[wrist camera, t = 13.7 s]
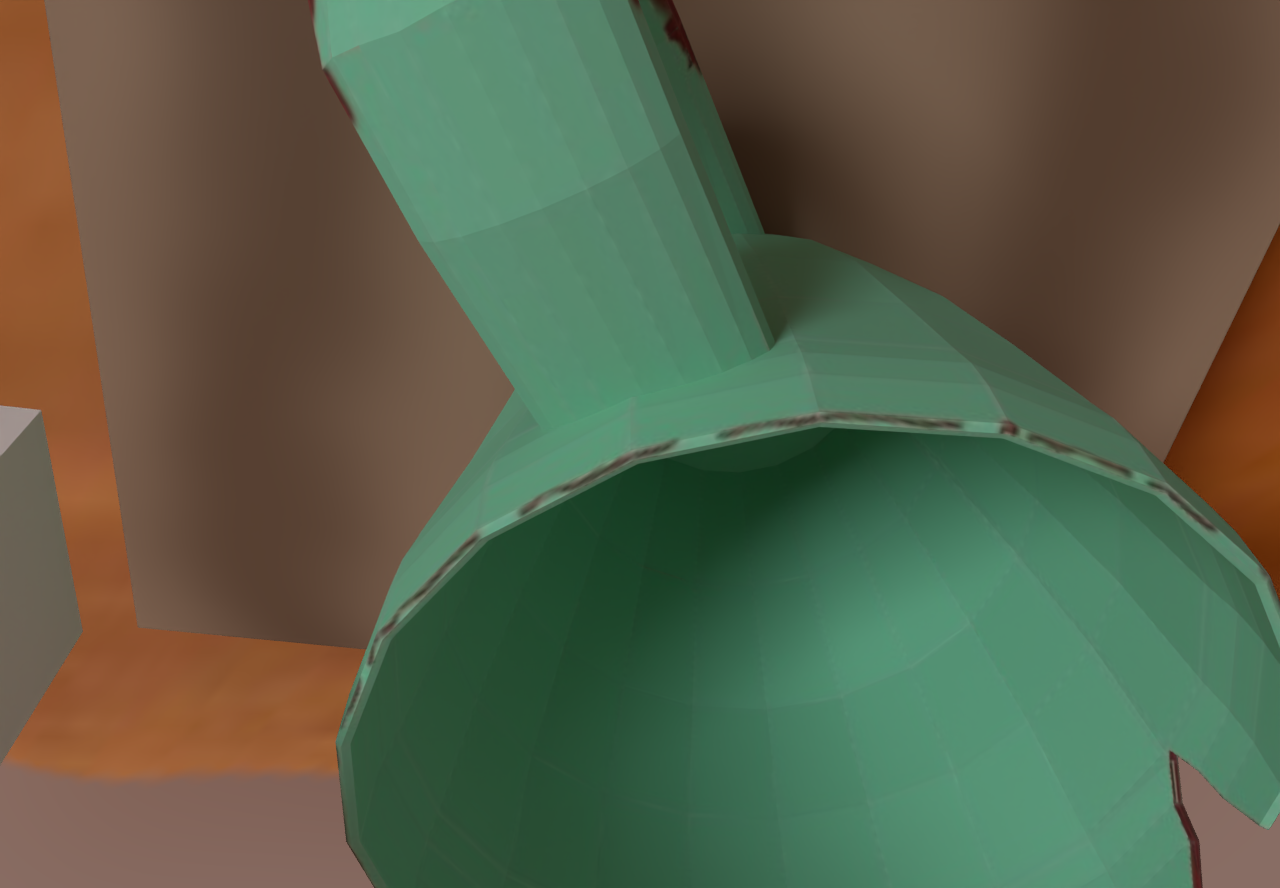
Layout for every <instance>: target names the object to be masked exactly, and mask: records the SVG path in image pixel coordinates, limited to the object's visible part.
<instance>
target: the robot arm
mask: <svg viewBox="0 0 1280 888" xmlns="http://www.w3.org/2000/svg"><path fill="white" fill-rule="evenodd" d="M82 632H83V630H82V625H81V620H80V614H79V609H78V604H77V598H76V593H75V588H74V582H73V577H72V572H71V566H70V561H69V556H68V550H67V545H66V540H65V535H64V529H63V524H62V519H61V513H60V508H59V503H58V497H57V492H56V487H55V481H54V476H53V471H52V465H51V460H50V455H49V449H48V444H47V439H46V433H45V428H44V423H43V417H42V412H41V410H35V409H26V408H17V407H8V406H0V764H1V763H2V761H3V760H4V758H5V756H6V755H7V753H8V752H9V750H10V748H11V747H12V745H13V743H14V742H15V740H16V739H17V737H18V735H19V734H20V732H21V731H22V729H23V727H24V726H25V724H26V722H27V721H28V719H29V718H30V716H31V714H32V713H33V711H34V710H35V708H36V706H37V705H38V703H39V701H40V700H41V698H42V697H43V695H44V693H45V692H46V690H47V688H48V687H49V685H50V684H51V682H52V680H53V679H54V677H55V676H56V674H57V672H58V671H59V669H60V667H61V666H62V664H63V663H64V661H65V659H66V658H67V656H68V655H69V653H70V651H71V650H72V648H73V646H74V645H75V643H76V642H77V640H78V638H79V637H80V635H81V633H82Z"/></svg>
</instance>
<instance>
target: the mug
mask: <svg viewBox="0 0 1280 888" xmlns="http://www.w3.org/2000/svg"><path fill="white" fill-rule="evenodd" d="M308 4H309V9H310V14H311V19H312V24H313V28H314V33H315V38H316V43H317V48H318V53H319V58H320V63H321V67H322V70H323V72H324V74H325V75H326V77H327V79H328V81H329V83H330V84H331V86H332V88H333V90H334V92H335V93H336V95H337V97H338V99H339V100H340V102H341V104H342V106H343V108H344V109H345V111H346V113H347V115H348V117H349V118H350V120H351V122H352V124H353V125H354V127H355V129H356V131H357V133H358V134H359V136H360V138H361V140H362V142H363V143H364V145H365V147H366V149H367V150H368V152H369V154H370V156H371V158H372V159H373V161H374V163H375V165H376V167H377V168H378V170H379V172H380V174H381V175H382V177H383V179H384V181H385V183H386V184H387V186H388V188H389V190H390V192H391V193H392V195H393V197H394V199H395V200H396V202H397V204H398V206H399V208H400V209H401V211H402V213H403V215H404V217H405V218H406V220H407V222H408V224H409V225H410V227H411V229H412V231H413V233H414V234H415V236H416V238H417V240H418V241H419V243H420V245H421V246H422V248H423V249H424V251H425V252H426V254H427V255H428V257H429V258H430V260H431V261H432V263H433V264H434V266H435V267H436V269H437V271H438V272H439V274H440V275H441V277H442V278H443V280H444V281H445V283H446V284H447V286H448V287H449V289H450V290H451V292H452V293H453V295H454V297H455V298H456V300H457V301H458V303H459V304H460V306H461V307H462V309H463V310H464V312H465V313H466V315H467V316H468V318H469V320H470V321H471V323H472V324H473V326H474V327H475V329H476V330H477V332H478V333H479V335H480V336H481V338H482V339H483V341H484V342H485V344H486V346H487V347H488V349H489V350H490V352H491V353H492V355H493V356H494V358H495V359H496V361H497V362H498V364H499V365H500V367H501V368H502V370H503V372H504V373H505V375H506V376H507V378H508V379H509V381H510V382H511V384H512V385H513V387H514V388H515V390H514V392H513V393H512V395H511V397H510V398H509V400H508V401H507V403H506V405H505V406H504V408H503V410H502V411H501V413H500V414H499V416H498V418H497V419H496V421H495V423H494V424H493V426H492V427H491V429H490V431H489V432H488V434H487V436H486V437H485V439H484V440H483V442H482V444H481V445H480V447H479V448H478V450H477V452H476V453H475V455H474V457H473V458H472V460H471V461H470V463H469V464H468V466H467V467H466V468H465V470H464V471H463V473H462V474H461V476H460V477H459V478H458V480H457V481H456V483H455V484H454V486H453V487H452V488H451V490H450V491H449V493H448V494H447V496H446V497H445V498H444V500H443V501H442V503H441V504H440V505H439V507H438V508H437V510H436V511H435V513H434V514H433V515H432V517H431V518H430V520H429V521H428V523H427V524H426V525H425V527H424V528H423V530H422V531H421V533H420V534H419V536H418V537H417V539H416V540H415V542H414V543H413V545H412V546H411V548H410V549H409V550H408V552H407V553H406V555H405V556H404V558H403V559H402V561H401V564H400V566H399V568H398V570H397V573H396V575H395V577H394V579H393V582H392V584H391V586H390V588H389V591H388V593H387V596H386V599H385V601H384V604H383V607H382V609H381V612H380V615H379V617H378V620H377V623H376V625H375V628H374V631H373V633H372V636H371V639H370V641H369V644H368V647H367V649H366V652H365V655H364V657H363V660H362V663H361V665H360V668H359V670H358V673H357V676H356V678H355V681H354V684H353V686H352V689H351V692H350V694H349V698H348V701H347V704H346V708H345V711H344V715H343V718H342V722H341V725H340V728H339V732H338V735H337V739H336V750H337V759H338V768H339V778H340V787H341V796H342V805H343V815H344V824H345V834H346V842H347V844H348V845H349V847H350V848H351V850H352V852H353V853H354V855H355V857H356V858H357V860H358V862H359V863H360V865H361V867H362V868H363V870H364V871H365V873H366V875H367V876H368V878H369V879H370V881H371V883H372V885H373V886H374V888H1202V874H1201V860H1200V845H1199V839H1198V837H1197V835H1196V833H1195V830H1194V828H1193V826H1192V824H1191V821H1190V819H1189V817H1188V815H1187V812H1186V810H1185V808H1184V806H1183V803H1182V794H1181V784H1180V775H1179V766H1178V757H1180V758H1181V759H1182V760H1184V761H1185V762H1187V763H1188V764H1189V765H1191V766H1192V767H1193V768H1195V769H1196V770H1198V771H1199V772H1200V774H1201V775H1202V776H1203V777H1204V778H1205V779H1206V780H1207V781H1208V782H1209V783H1210V784H1211V786H1212V787H1213V788H1214V789H1215V790H1216V791H1217V792H1218V793H1219V795H1220V796H1221V797H1222V798H1223V799H1225V800H1226V801H1227V802H1229V803H1230V804H1231V805H1233V806H1234V807H1235V808H1236V809H1238V810H1239V811H1240V812H1242V813H1243V814H1244V815H1246V816H1247V817H1249V818H1250V819H1251V820H1252V821H1254V822H1255V823H1256V824H1258V825H1259V826H1261V827H1263V828H1265V829H1267V830H1269V829H1270V827H1271V826H1272V824H1273V823H1274V821H1275V820H1276V818H1277V816H1278V815H1279V813H1280V602H1279V599H1278V596H1277V594H1276V591H1275V588H1274V586H1273V583H1272V581H1271V578H1270V575H1269V574H1268V573H1267V572H1266V570H1265V569H1264V568H1263V566H1262V565H1261V564H1260V562H1259V561H1258V560H1257V559H1256V557H1255V556H1254V555H1253V553H1252V552H1251V551H1250V549H1249V548H1248V547H1247V545H1246V544H1245V543H1244V542H1243V540H1242V539H1241V538H1240V536H1239V535H1238V534H1237V532H1236V531H1235V530H1234V529H1233V528H1232V527H1231V526H1230V525H1229V524H1228V523H1227V522H1225V521H1224V520H1223V519H1222V518H1221V517H1220V516H1219V515H1218V514H1217V513H1216V512H1215V511H1214V510H1213V509H1212V508H1211V507H1210V506H1209V505H1208V504H1207V503H1206V502H1205V501H1204V500H1203V499H1202V498H1201V497H1200V496H1198V495H1197V494H1196V493H1195V492H1194V491H1193V490H1192V489H1191V488H1190V487H1189V486H1188V485H1186V484H1185V483H1184V482H1183V481H1182V480H1181V479H1180V478H1179V477H1178V476H1177V475H1175V474H1174V473H1173V472H1172V471H1171V470H1170V469H1169V468H1168V467H1167V466H1166V465H1165V464H1163V463H1162V462H1161V461H1160V460H1159V459H1158V458H1157V457H1156V456H1155V455H1154V454H1152V453H1151V452H1150V451H1149V450H1148V449H1147V448H1146V447H1145V446H1144V445H1143V444H1141V443H1140V442H1139V441H1138V440H1137V439H1136V438H1135V437H1134V436H1133V435H1132V434H1131V433H1129V432H1128V431H1127V430H1126V429H1125V428H1124V427H1123V426H1122V425H1121V424H1120V423H1118V422H1117V421H1116V420H1115V419H1114V418H1113V417H1111V416H1110V415H1108V414H1107V413H1105V412H1104V411H1102V410H1101V409H1099V408H1098V407H1097V406H1095V405H1094V404H1092V403H1091V402H1089V401H1088V400H1087V399H1085V398H1084V397H1083V396H1081V395H1080V394H1079V393H1077V392H1076V391H1075V390H1073V389H1072V388H1071V387H1069V386H1068V385H1067V384H1065V383H1064V382H1063V381H1061V380H1060V379H1059V378H1057V377H1056V376H1055V375H1053V374H1052V373H1051V372H1049V371H1048V370H1047V369H1045V368H1044V367H1043V366H1041V365H1040V364H1039V363H1037V362H1036V361H1035V360H1033V359H1032V358H1031V357H1029V356H1028V355H1027V354H1025V353H1024V352H1023V351H1021V350H1020V349H1019V348H1017V347H1016V346H1015V345H1013V344H1012V343H1010V342H1009V341H1007V340H1006V339H1004V338H1003V337H1001V336H1000V335H999V334H997V333H996V332H994V331H993V330H991V329H990V328H988V327H987V326H985V325H984V324H983V323H981V322H980V321H978V320H977V319H975V318H974V317H972V316H971V315H969V314H968V313H967V312H965V311H964V310H962V309H961V308H959V307H958V306H956V305H955V304H953V303H952V302H951V301H949V300H948V299H946V298H945V297H943V296H941V295H939V294H937V293H935V292H933V291H930V290H928V289H926V288H924V287H922V286H919V285H917V284H915V283H913V282H911V281H908V280H906V279H904V278H902V277H900V276H897V275H895V274H893V273H891V272H889V271H886V270H884V269H882V268H880V267H878V266H875V265H873V264H871V263H868V262H866V261H863V260H861V259H858V258H856V257H853V256H851V255H848V254H846V253H843V252H841V251H838V250H836V249H833V248H831V247H828V246H826V245H823V244H821V243H818V242H816V241H813V240H810V239H803V238H796V237H789V236H782V235H775V234H765V233H764V230H763V227H762V225H761V222H760V220H759V217H758V215H757V212H756V210H755V207H754V205H753V202H752V199H751V197H750V194H749V192H748V189H747V187H746V184H745V182H744V179H743V177H742V174H741V171H740V169H739V166H738V164H737V161H736V159H735V156H734V154H733V151H732V149H731V146H730V143H729V141H728V138H727V136H726V133H725V131H724V128H723V126H722V123H721V121H720V118H719V115H718V113H717V110H716V108H715V105H714V103H713V100H712V98H711V95H710V93H709V90H708V87H707V85H706V82H705V80H704V77H703V75H702V72H701V70H700V67H699V65H698V62H697V59H696V57H695V54H694V52H693V49H692V47H691V44H690V42H689V39H688V37H687V34H686V31H685V29H684V26H683V24H682V21H681V19H680V17H679V14H678V12H677V10H676V7H675V5H674V3H673V0H308Z"/></svg>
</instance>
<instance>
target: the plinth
mask: <svg viewBox="0 0 1280 888" xmlns="http://www.w3.org/2000/svg"><path fill="white" fill-rule="evenodd" d="M44 1H45V7H46V14H47V21H48V27H49V34H50V41H51V48H52V54H53V61H54V68H55V74H56V81H57V88H58V95H59V101H60V108H61V115H62V121H63V128H64V135H65V142H66V148H67V155H68V162H69V168H70V175H71V182H72V189H73V195H74V202H75V209H76V215H77V222H78V229H79V236H80V242H81V249H82V256H83V262H84V269H85V276H86V282H87V289H88V296H89V303H90V309H91V316H92V323H93V329H94V336H95V343H96V350H97V356H98V363H99V370H100V376H101V383H102V390H103V397H104V403H105V410H106V417H107V423H108V430H109V437H110V444H111V450H112V457H113V464H114V470H115V477H116V484H117V490H118V497H119V504H120V511H121V517H122V524H123V531H124V537H125V544H126V551H127V558H128V564H129V571H130V578H131V584H132V591H133V598H134V605H135V611H136V618H137V625H138V627H139V628H149V629H160V630H170V631H180V632H191V633H201V634H212V635H222V636H233V637H243V638H253V639H264V640H274V641H285V642H295V643H305V644H316V645H326V646H337V647H347V648H358V649H367V647H368V644H369V641H370V639H371V636H372V633H373V631H374V628H375V625H376V623H377V620H378V617H379V615H380V612H381V609H382V607H383V604H384V601H385V599H386V596H387V593H388V591H389V588H390V586H391V584H392V582H393V579H394V577H395V575H396V573H397V570H398V568H399V566H400V564H401V561H402V559H403V558H404V556H405V555H406V553H407V552H408V550H409V549H410V548H411V546H412V545H413V543H414V542H415V540H416V539H417V537H418V536H419V534H420V533H421V531H422V530H423V528H424V527H425V525H426V524H427V523H428V521H429V520H430V518H431V517H432V515H433V514H434V513H435V511H436V510H437V508H438V507H439V505H440V504H441V503H442V501H443V500H444V498H445V497H446V496H447V494H448V493H449V491H450V490H451V488H452V487H453V486H454V484H455V483H456V481H457V480H458V478H459V477H460V476H461V474H462V473H463V471H464V470H465V468H466V467H467V466H468V464H469V463H470V461H471V460H472V458H473V457H474V455H475V453H476V452H477V450H478V448H479V447H480V445H481V444H482V442H483V440H484V439H485V437H486V436H487V434H488V432H489V431H490V429H491V427H492V426H493V424H494V423H495V421H496V419H497V418H498V416H499V414H500V413H501V411H502V410H503V408H504V406H505V405H506V403H507V401H508V400H509V398H510V397H511V395H512V393H513V392H514V390H515V388H514V387H513V385H512V384H511V382H510V381H509V379H508V378H507V376H506V375H505V373H504V372H503V370H502V368H501V367H500V365H499V364H498V362H497V361H496V359H495V358H494V356H493V355H492V353H491V352H490V350H489V349H488V347H487V346H486V344H485V342H484V341H483V339H482V338H481V336H480V335H479V333H478V332H477V330H476V329H475V327H474V326H473V324H472V323H471V321H470V320H469V318H468V316H467V315H466V313H465V312H464V310H463V309H462V307H461V306H460V304H459V303H458V301H457V300H456V298H455V297H454V295H453V293H452V292H451V290H450V289H449V287H448V286H447V284H446V283H445V281H444V280H443V278H442V277H441V275H440V274H439V272H438V271H437V269H436V267H435V266H434V264H433V263H432V261H431V260H430V258H429V257H428V255H427V254H426V252H425V251H424V249H423V248H422V246H421V245H420V243H419V241H418V240H417V238H416V236H415V234H414V233H413V231H412V229H411V227H410V225H409V224H408V222H407V220H406V218H405V217H404V215H403V213H402V211H401V209H400V208H399V206H398V204H397V202H396V200H395V199H394V197H393V195H392V193H391V192H390V190H389V188H388V186H387V184H386V183H385V181H384V179H383V177H382V175H381V174H380V172H379V170H378V168H377V167H376V165H375V163H374V161H373V159H372V158H371V156H370V154H369V152H368V150H367V149H366V147H365V145H364V143H363V142H362V140H361V138H360V136H359V134H358V133H357V131H356V129H355V127H354V125H353V124H352V122H351V120H350V118H349V117H348V115H347V113H346V111H345V109H344V108H343V106H342V104H341V102H340V100H339V99H338V97H337V95H336V93H335V92H334V90H333V88H332V86H331V84H330V83H329V81H328V79H327V77H326V75H325V74H324V72H323V70H322V67H321V63H320V58H319V53H318V48H317V43H316V38H315V33H314V28H313V24H312V19H311V14H310V9H309V4H308V0H44ZM673 3H674V5H675V7H676V10H677V12H678V14H679V17H680V19H681V21H682V24H683V26H684V29H685V31H686V34H687V37H688V39H689V42H690V44H691V47H692V49H693V52H694V54H695V57H696V59H697V62H698V65H699V67H700V70H701V72H702V75H703V77H704V80H705V82H706V85H707V87H708V90H709V93H710V95H711V98H712V100H713V103H714V105H715V108H716V110H717V113H718V115H719V118H720V121H721V123H722V126H723V128H724V131H725V133H726V136H727V138H728V141H729V143H730V146H731V149H732V151H733V154H734V156H735V159H736V161H737V164H738V166H739V169H740V171H741V174H742V177H743V179H744V182H745V184H746V187H747V189H748V192H749V194H750V197H751V199H752V202H753V205H754V207H755V210H756V212H757V215H758V217H759V220H760V222H761V225H762V227H763V230H764V233H765V234H775V235H782V236H789V237H796V238H803V239H810V240H813V241H816V242H818V243H821V244H823V245H826V246H828V247H831V248H833V249H836V250H838V251H841V252H843V253H846V254H848V255H851V256H853V257H856V258H858V259H861V260H863V261H866V262H868V263H871V264H873V265H875V266H878V267H880V268H882V269H884V270H886V271H889V272H891V273H893V274H895V275H897V276H900V277H902V278H904V279H906V280H908V281H911V282H913V283H915V284H917V285H919V286H922V287H924V288H926V289H928V290H930V291H933V292H935V293H937V294H939V295H941V296H943V297H945V298H946V299H948V300H949V301H951V302H952V303H953V304H955V305H956V306H958V307H959V308H961V309H962V310H964V311H965V312H967V313H968V314H969V315H971V316H972V317H974V318H975V319H977V320H978V321H980V322H981V323H983V324H984V325H985V326H987V327H988V328H990V329H991V330H993V331H994V332H996V333H997V334H999V335H1000V336H1001V337H1003V338H1004V339H1006V340H1007V341H1009V342H1010V343H1012V344H1013V345H1015V346H1016V347H1017V348H1019V349H1020V350H1021V351H1023V352H1024V353H1025V354H1027V355H1028V356H1029V357H1031V358H1032V359H1033V360H1035V361H1036V362H1037V363H1039V364H1040V365H1041V366H1043V367H1044V368H1045V369H1047V370H1048V371H1049V372H1051V373H1052V374H1053V375H1055V376H1056V377H1057V378H1059V379H1060V380H1061V381H1063V382H1064V383H1065V384H1067V385H1068V386H1069V387H1071V388H1072V389H1073V390H1075V391H1076V392H1077V393H1079V394H1080V395H1081V396H1083V397H1084V398H1085V399H1087V400H1088V401H1089V402H1091V403H1092V404H1094V405H1095V406H1097V407H1098V408H1099V409H1101V410H1102V411H1104V412H1105V413H1107V414H1108V415H1110V416H1111V417H1113V418H1114V419H1115V420H1116V421H1117V422H1118V423H1120V424H1121V425H1122V426H1123V427H1124V428H1125V429H1126V430H1127V431H1128V432H1129V433H1131V434H1132V435H1133V436H1134V437H1135V438H1136V439H1137V440H1138V441H1139V442H1140V443H1141V444H1143V445H1144V446H1145V447H1146V448H1147V449H1148V450H1149V451H1150V452H1151V453H1152V454H1154V455H1155V456H1156V457H1157V458H1158V459H1159V460H1160V461H1161V462H1162V463H1163V462H1164V460H1165V458H1166V456H1167V454H1168V452H1169V450H1170V448H1171V446H1172V444H1173V442H1174V440H1175V438H1176V436H1177V434H1178V432H1179V430H1180V428H1181V426H1182V423H1183V421H1184V419H1185V417H1186V415H1187V413H1188V411H1189V409H1190V407H1191V405H1192V403H1193V401H1194V399H1195V397H1196V395H1197V393H1198V391H1199V389H1200V387H1201V384H1202V382H1203V380H1204V378H1205V376H1206V374H1207V372H1208V370H1209V368H1210V366H1211V364H1212V362H1213V360H1214V358H1215V356H1216V354H1217V352H1218V350H1219V348H1220V345H1221V343H1222V341H1223V339H1224V337H1225V335H1226V333H1227V331H1228V329H1229V327H1230V325H1231V323H1232V321H1233V319H1234V317H1235V315H1236V313H1237V311H1238V309H1239V307H1240V304H1241V302H1242V300H1243V298H1244V296H1245V294H1246V292H1247V290H1248V288H1249V286H1250V284H1251V282H1252V280H1253V278H1254V276H1255V274H1256V272H1257V270H1258V268H1259V265H1260V263H1261V261H1262V259H1263V257H1264V255H1265V253H1266V251H1267V249H1268V247H1269V245H1270V243H1271V241H1272V239H1273V237H1274V235H1275V233H1276V231H1277V229H1278V226H1279V224H1280V0H673Z"/></svg>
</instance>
